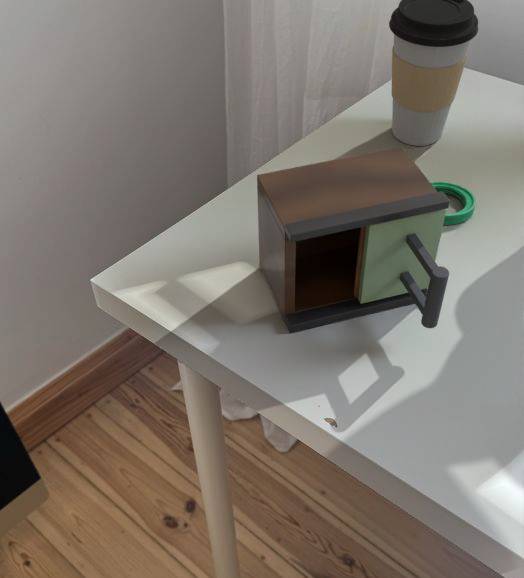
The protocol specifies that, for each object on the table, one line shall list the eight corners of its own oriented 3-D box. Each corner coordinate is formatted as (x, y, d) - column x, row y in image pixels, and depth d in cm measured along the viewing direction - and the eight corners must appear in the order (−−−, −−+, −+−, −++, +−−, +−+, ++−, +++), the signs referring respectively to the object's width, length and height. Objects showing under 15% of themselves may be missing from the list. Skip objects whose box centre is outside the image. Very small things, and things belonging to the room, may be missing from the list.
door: (460, 333, 65) (482, 255, 58) (387, 352, 63) (400, 274, 57) (426, 282, 69) (442, 204, 62) (357, 299, 68) (366, 220, 61)
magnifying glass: (470, 192, 80) (474, 179, 79) (476, 227, 76) (479, 214, 75) (332, 186, 82) (333, 173, 80) (330, 220, 78) (331, 207, 76)
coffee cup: (464, 121, 90) (491, -4, 78) (443, 162, 84) (469, 34, 73) (391, 105, 92) (406, -18, 81) (366, 144, 87) (379, 18, 75)
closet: (429, 300, 69) (450, 200, 61) (289, 333, 67) (290, 235, 58) (388, 238, 75) (403, 140, 67) (259, 267, 73) (256, 168, 64)
